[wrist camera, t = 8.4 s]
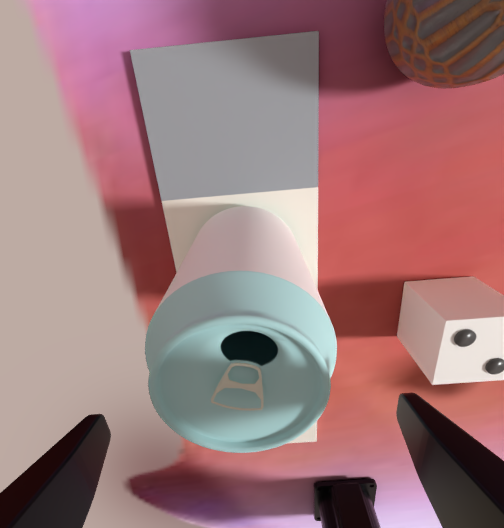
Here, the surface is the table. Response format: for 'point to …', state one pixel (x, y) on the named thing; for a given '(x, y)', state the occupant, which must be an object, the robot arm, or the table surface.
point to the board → (235, 135)
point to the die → (453, 329)
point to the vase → (446, 40)
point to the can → (241, 338)
